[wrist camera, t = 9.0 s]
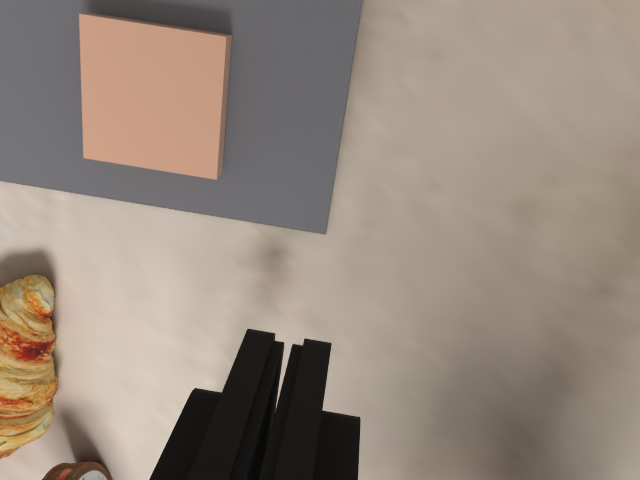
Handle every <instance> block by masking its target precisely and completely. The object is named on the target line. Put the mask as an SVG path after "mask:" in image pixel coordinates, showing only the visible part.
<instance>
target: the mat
mask: <svg viewBox="0 0 640 480" xmlns="http://www.w3.org/2000/svg"><path fill="white" fill-rule="evenodd" d="M361 6H362V0H0V181H4V182H10V183H16V184H22V185H28V186H34V187H41V188H47V189H53V190H59V191H65V192H71V193H77V194H83V195H89V196H95V197H101V198H107V199H114V200H120V201H126V202H132V203H138V204H144V205H150V206H156V207H162V208H168V209H174V210H180V211H186V212H193V213H199V214H205V215H211V216H217V217H223V218H229V219H235V220H241V221H247V222H253V223H259V224H266V225H272V226H278V227H284V228H290V229H296V230H302V231H308V232H314V233H320V234H326V230H327V223H328V217H329V211H330V204H331V198H332V191H333V185H334V179H335V172H336V166H337V159H338V153H339V147H340V140H341V134H342V127H343V121H344V115H345V108H346V102H347V95H348V89H349V83H350V76H351V70H352V63H353V57H354V51H355V44H356V38H357V31H358V25H359V19H360V12H361ZM83 13H94V14H100V15H107V16H113V17H119V18H126V19H132V20H139V21H145V22H152V23H158V24H164V25H171V26H177V27H184V28H190V29H197V30H203V31H209V32H216V33H222V34H229V35H232V43H231V57H230V70H229V84H228V98H227V112H226V126H225V140H224V154H223V168H222V174H221V175H220V176H219V178H218V179H217V180H215V179H209V178H203V177H197V176H190V175H184V174H178V173H172V172H166V171H160V170H154V169H147V168H141V167H135V166H129V165H123V164H117V163H111V162H104V161H98V160H92V159H86V158H83V127H82V94H81V62H80V29H79V14H83Z"/></svg>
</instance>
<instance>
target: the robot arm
mask: <svg viewBox="0 0 640 480" xmlns="http://www.w3.org/2000/svg"><path fill="white" fill-rule="evenodd" d="M283 351H284V342H279V341H275V333H270V332H264V331H258V330H253V329H247V331H246V334H245V336H244V339H243V341H242V344H241V346H240V349H239V351H238V354H237V356H236V359H235V361H234V364H233V366H232V369H231V371H230V374H229V376H228V379H227V381H226V384H225V386H224V389H223V391H222V393H220V392H214V391H209V390H203V389H198V388H195V389H194V390H193V391H192V392H191V394H190V396H189V398H188V400H187V402H186V404H185V406H184V408H183V410H182V413H181V415H180V417H179V419H178V421H177V423H176V425H175V427H174V429H173V431H172V433H171V436H170V438H169V440H168V442H167V444H166V446H165V448H164V450H163V452H162V454H161V456H160V459H159V461H158V463H157V465H156V467H155V469H154V471H153V473H152V475H151V477H150V479H149V480H358V463H359V442H360V417H356V416H350V415H344V414H339V413H333V412H327V411H322V408H323V401H324V394H325V387H326V379H327V372H328V365H329V358H330V351H331V343H328V342H322V341H316V340H310V339H304V343H303V346H302V345H296V344H293V345H292V348H291V352H290V356H289V360H288V364H287V368H286V372H285V376H284V380H283V384H282V388H281V392H280V396H279V400H278V404H277V408H276V402H277V395H278V388H279V380H280V373H281V366H282V358H283ZM275 410H276V412H275Z"/></svg>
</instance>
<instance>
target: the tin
mask: <svg viewBox="0 0 640 480" xmlns="http://www.w3.org/2000/svg"><path fill="white" fill-rule="evenodd" d="M42 480H112V479H111V477H110V475H109V473H108V471H107V470H106V469H105V468H104V467H103V466H102V465H101V464H99V463H96V462H79V463H71V464H70V463H62V464H59V465H57V466H55V467H53V468H52V469H51V470H50V471H49V472H48V473H47V474H46V475H45V477H44V478H43V479H42Z"/></svg>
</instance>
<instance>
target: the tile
mask: <svg viewBox="0 0 640 480" xmlns="http://www.w3.org/2000/svg"><path fill="white" fill-rule="evenodd" d="M79 29H80V62H81V94H82V127H83V158H86V159H92V160H98V161H104V162H111V163H117V164H123V165H129V166H135V167H141V168H147V169H154V170H160V171H166V172H172V173H178V174H184V175H190V176H197V177H203V178H209V179H215V180H217V179H218V178H219V176H220V175H221V174H222V168H223V154H224V140H225V126H226V112H227V98H228V84H229V70H230V57H231V43H232V35H229V34H222V33H216V32H209V31H203V30H197V29H190V28H184V27H177V26H171V25H164V24H158V23H152V22H145V21H139V20H132V19H126V18H119V17H113V16H107V15H100V14H94V13H83V14H79Z"/></svg>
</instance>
